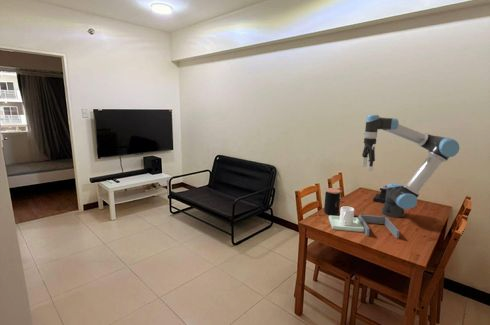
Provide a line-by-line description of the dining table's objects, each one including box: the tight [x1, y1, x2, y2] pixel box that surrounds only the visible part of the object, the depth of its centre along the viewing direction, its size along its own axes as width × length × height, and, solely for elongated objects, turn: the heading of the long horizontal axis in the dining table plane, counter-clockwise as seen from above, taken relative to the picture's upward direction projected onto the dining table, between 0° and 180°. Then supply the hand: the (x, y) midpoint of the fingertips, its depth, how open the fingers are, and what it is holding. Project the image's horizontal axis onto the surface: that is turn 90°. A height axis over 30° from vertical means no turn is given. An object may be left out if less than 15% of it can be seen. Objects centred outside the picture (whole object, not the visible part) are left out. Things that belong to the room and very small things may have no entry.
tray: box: [328, 215, 365, 233], centre depth 177 cm, size 19×17×2 cm
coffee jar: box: [323, 187, 342, 216], centre depth 196 cm, size 11×11×18 cm
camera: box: [372, 185, 387, 205], centre depth 223 cm, size 16×14×15 cm
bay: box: [357, 214, 400, 240], centre depth 171 cm, size 18×22×5 cm
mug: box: [339, 205, 355, 226], centre depth 175 cm, size 9×12×11 cm
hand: (366, 168), depth 181 cm, fingers open, 13 cm apart
